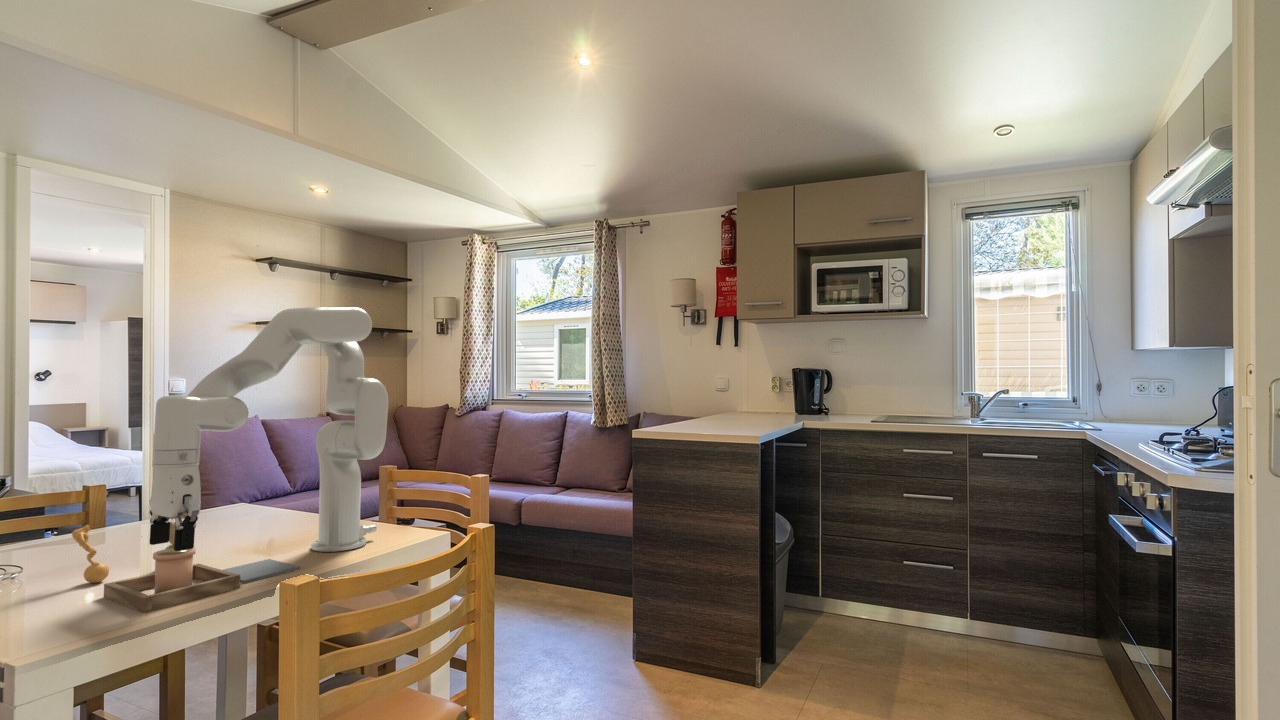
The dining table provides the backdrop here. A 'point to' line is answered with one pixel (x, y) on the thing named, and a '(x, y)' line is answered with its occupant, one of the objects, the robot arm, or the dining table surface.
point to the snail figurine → (172, 534)
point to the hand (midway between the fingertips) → (171, 546)
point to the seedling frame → (130, 596)
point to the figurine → (95, 570)
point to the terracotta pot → (173, 569)
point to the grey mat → (261, 570)
